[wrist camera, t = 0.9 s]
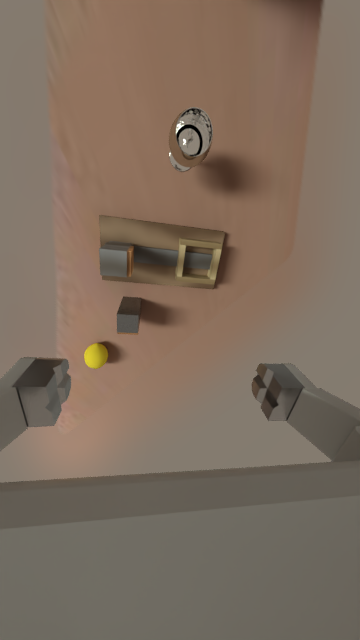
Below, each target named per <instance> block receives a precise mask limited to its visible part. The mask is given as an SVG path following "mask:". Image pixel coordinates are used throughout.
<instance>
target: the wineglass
mask: <svg viewBox="0 0 360 640" xmlns="http://www.w3.org/2000/svg"><path fill="white" fill-rule="evenodd" d="M212 138H213V129H212V124H211V120H210V118H209V116H208V115H207V113H206V112H205V111H203V110H202V109H200V108H197V107H191V108H188V109H186V110H184V111H183V112H181V113H180V114H179V115H178V116H177V118H176V119H175V120H174V122H173V124H172V126H171V129H170V133H169V147H170V153H169V158H170V162H171V164H172V166H173V167H174V168H175V169H176V170H178V171H187V170H188V169H190V168H191V167H195V166H197V165H199V164H200V163H201V162H202V161H203V160H204V159H205V158H206V156H207V154H208V152H209V150H210V147H211V144H212Z"/></svg>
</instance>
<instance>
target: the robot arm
mask: <svg viewBox="0 0 360 640" xmlns="http://www.w3.org/2000/svg"><path fill="white" fill-rule="evenodd" d="M68 369H69V364H68V360H67V359H61V358H37V357H24V358H21V359H19V360H18V361H17V363H16V364H15V365H14V366H13V367H12V368H11V369H10V370H9V371H8V372H7V373H6V374H5V375H4V376H3V377H2V378H1V379H0V451H1V450H2V449H4V448H5V447H6V446H7V445H8V444H10V443H11V442H12V441H13V440H14V439H16V438H17V437H18V436H19V435H20V434H22V433H23V432H24V431H25V430H26V429H27V427H40V426H54V425H55V423H56V421H57V419H58V417H59V415H60V413H61V411H62V409H61V404H62V403H64V402H65V401H66V400H67V398H68V396H69V392H70V388H71V377H70V375H68V374H67V373H66V372H67V370H68ZM256 371H257V374H258V375H257V376H256V377H254V378H253V382H252V392H253V395H254V397H255V398H256V400H258V401H259V402H260V403H261V409H262V411H263V413H264V414H265V416H266V418H267V419H268V421H287V422H288V423H289V424H290V425H291V426H292V427H294V428H295V429H296V430H297V431H298V432H300V433H301V434H302V435H303V436H304V437H305V438H306V439H308V440H309V441H310V442H311V443H312V444H313V445H315V446H316V447H317V448H318V449H319V450H320V451H322V452H323V453H324V454H325V455H326V456H327V457H329V458H330V459H331V460H332V461H331V462H326V463H325V462H324V463H309V464H294V465H277V466H261V467H246V468H230V469H214V470H199V471H183V472H166V473H149V474H134V475H117V476H101V477H86V478H85V477H84V478H68V479H53V480H36V481H21V482H4V483H0V640H360V409H359V408H357V407H355V406H353V405H351V404H350V403H348V402H345V401H344V400H342V399H340V398H338V397H336V396H334V395H332V394H331V393H329V392H326V391H325V390H323V389H321V388H317V387H316V386H315V385H314V384H313V383H312V382H311V381H310V380H309V379H308V378H307V377H306V376H305V375H304V374H303V373H302V372H301V371H300V370H299V369H298V368H297V367H296V366H295V365H293V364H291V363H284V364H283V363H281V364H262V363H261V364H259V365H258V367H257V370H256Z"/></svg>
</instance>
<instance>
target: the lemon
mask: <svg viewBox="0 0 360 640" xmlns="http://www.w3.org/2000/svg"><path fill="white" fill-rule="evenodd" d="M107 358H108V352H107V349H106V347H105V346H104V345H102V344H99V343H95V344H92V345H91V346H89V347H88V348H87V350H86V351H85V356H84V359H85V362H86V364H87V365H88V366H89V367H91V368H94V369H98V368H100V367H102V366H103V365H104V364H105V363H106V361H107Z"/></svg>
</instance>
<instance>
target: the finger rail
mask: <svg viewBox="0 0 360 640" xmlns="http://www.w3.org/2000/svg"><path fill="white" fill-rule="evenodd" d="M99 222H100V242H101V248H99V254H100V274H101V275H102V280H110V281H122V282H134V283H146V284H158V285H170V286H181V287H193V288H205V289H214V284H215V279H216V274H217V269H218V265H219V260H220V255H221V250H222V245H223V241H224V236H225V232H224V231H217V230H209V229H201V228H194V227H186V226H179V225H171V224H164V223H156V222H148V221H141V220H133V219H126V218H118V217H111V216H103V215H99Z"/></svg>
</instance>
